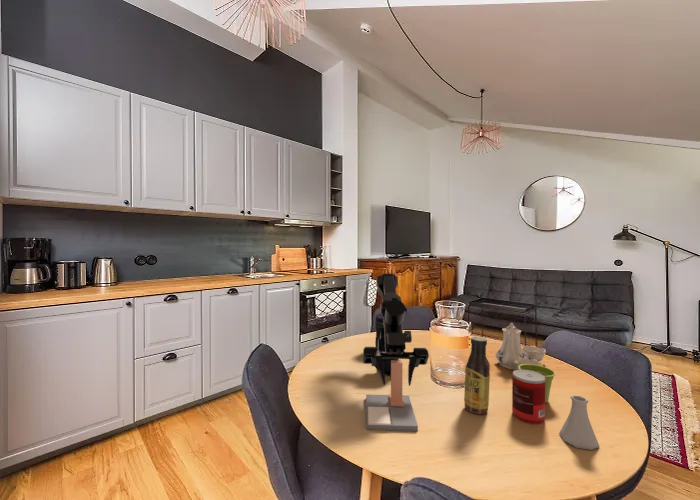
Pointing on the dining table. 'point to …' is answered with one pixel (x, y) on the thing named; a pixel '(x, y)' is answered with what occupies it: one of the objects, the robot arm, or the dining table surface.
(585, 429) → the flask
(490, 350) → the dining table surface
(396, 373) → the stub
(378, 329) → the storage jar
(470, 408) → the sauce bottle
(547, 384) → the plant pot
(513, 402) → the canned food
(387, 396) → the ticket board
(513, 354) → the chinaware
